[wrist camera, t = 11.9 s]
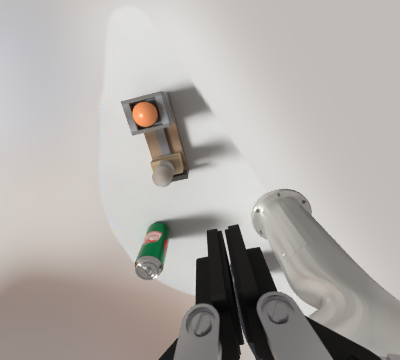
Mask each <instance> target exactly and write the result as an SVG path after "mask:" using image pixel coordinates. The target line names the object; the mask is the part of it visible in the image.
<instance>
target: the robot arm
mask: <svg viewBox="0 0 400 360" xmlns="http://www.w3.org/2000/svg"><path fill="white" fill-rule="evenodd" d="M278 193H279V194H278ZM257 209H258V210H257ZM311 212H312V211H311V207H310V204H309V202H308V200H307V199H306V198H305V197H304V196H303V195H302V194H300V193H299V192H296V191H294V190H289V189H279V190H275V191H272V192H270V193H268V194H266V195H264V196H263V197H262V198H261V199H260V200H259V201H258V202H257V203H256V205H255V206H254V209H253V211H252V223H253V226H254V229H255V230H256V232H257V233H258V234H259V235H260V236H261V237H263V238H265V239H267V240H268V242H269V244H270V246H271V248H272V250H273V252H274V254H275V256H276V258H277V260H278V263H279V265H280V267H281V269H282V271H283V273H284V275H285V277H286V279H287V281H288V283H289V285H290V287H291V289H292V290H293V291H294V293H295V294H296V295H297V296H298V297H299V298H300V299H302V300H303V301H304V302H306V303H307V304H309V305H311V306H313V307H315V308H317V309H318V310H317V311H315V312H314V313H312V314H311V315H310V316H309V317H307V316H305V315H304V314H303V313H302V311H301V310H300V308H299V307H298V305H297V304H296V302H295V301H294V300H293V299H292V298H291V297H290V296H288V295H287V294H284V293H282V292H278V291H277V289H276V286H275V284H274V281H273V279H272V276H271V274H270V271H269V269H268V266H267V264H266V261H265V259H264V256H263V254H262V251H261V249H260V247H257V248H251V249H246V248H245V245H244V241H243V238H242V235H241V232H240V228H239V225H238V224H237V225H232V226H228V228H229V229H226V230H225V234H226V239H227V245H228V250H229V255H230V261H231V266H232V271H233V276H234V282H235V287H236V292H237V296H238V301H239V305H240V309H241V314H242V318H243V322H244V327H245V331H246V336H247V340H248V344H250V343H254V347H255V351H256V356H258V357H259V358H260V359H261V360H400V301H399V300H397V299H396V298H395V297H394V296H392V295H391V294H390V293H389V292H388V291H386V290H385V289H384V288H382V287H381V286H380V285H379V284H378V283H377V282H376V281H375V280H373V279H372V278H371V277H370V276H369V275H368V274H367V273H366V272H365V271H364V270H363V269H362V268H361V267H360V266H359V265H358V264H357V263H356V262H355V261H354V260H353V259H352V258H351V257H350V256H349V255H348V254H347V253H346V252H345V251H344V250H343V249H342V248H341V247H340V245H339V244H338V243H337V242H336V241H335V240H334V239H333V238H332V237H331V236H330V235H329V234H328V233H327V232H326V231H325V229H324V228H323V227H322V226H321V225H320V224H319V223H318V222H317V221H316V220H315V219H314V218H313V217H312V216H311ZM207 244H208V257H203V258H198V259H197V260H196V305H195V306H193V307H192V308H190V309H189V310H188V311H187V312H186V314H185V315H184V317H183V320H182V323H181V328H180V333H179V337H178V338H177V339H176V340H175V341H174V343H173V344H172V345H171V346H170V347H169V348H168V349H167V351H166V352H165V353H164V354H163V355H162V356H161V357H160V359H159V360H239V359H240V355H241V352H240V346H239V345H243V344H244V340H243V334H242V329H241V323H240V318H239V312H238V307H237V301H236V296H235V290H234V285H233V279H232V274H231V269H230V265H229V261H228V256H227V252H226V248H225V243H224V239H223V235H222V231H218V230H217V229H212V230H207Z"/></svg>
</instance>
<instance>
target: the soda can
mask: <svg viewBox="0 0 400 360" xmlns="http://www.w3.org/2000/svg"><path fill="white" fill-rule="evenodd" d="M169 238H170V229H169V228H168V227H167V226H166V225H165V224H163V223H154V224H152V225H151V226H150V227H149V228H148V231H147V233H146V236H145V238H144V241H143V244H142V246H141V249H140V251H139V254H138V257H137V259H136V262H135V271H136V274H137V275H138V276H139V277H140V278H142V279H144V280H153V279H155V278H157V277H158V276H159V274H160V273H161V272H162V270H163V266H164V261H165V257H166V252H167V247H168V242H169Z"/></svg>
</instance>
